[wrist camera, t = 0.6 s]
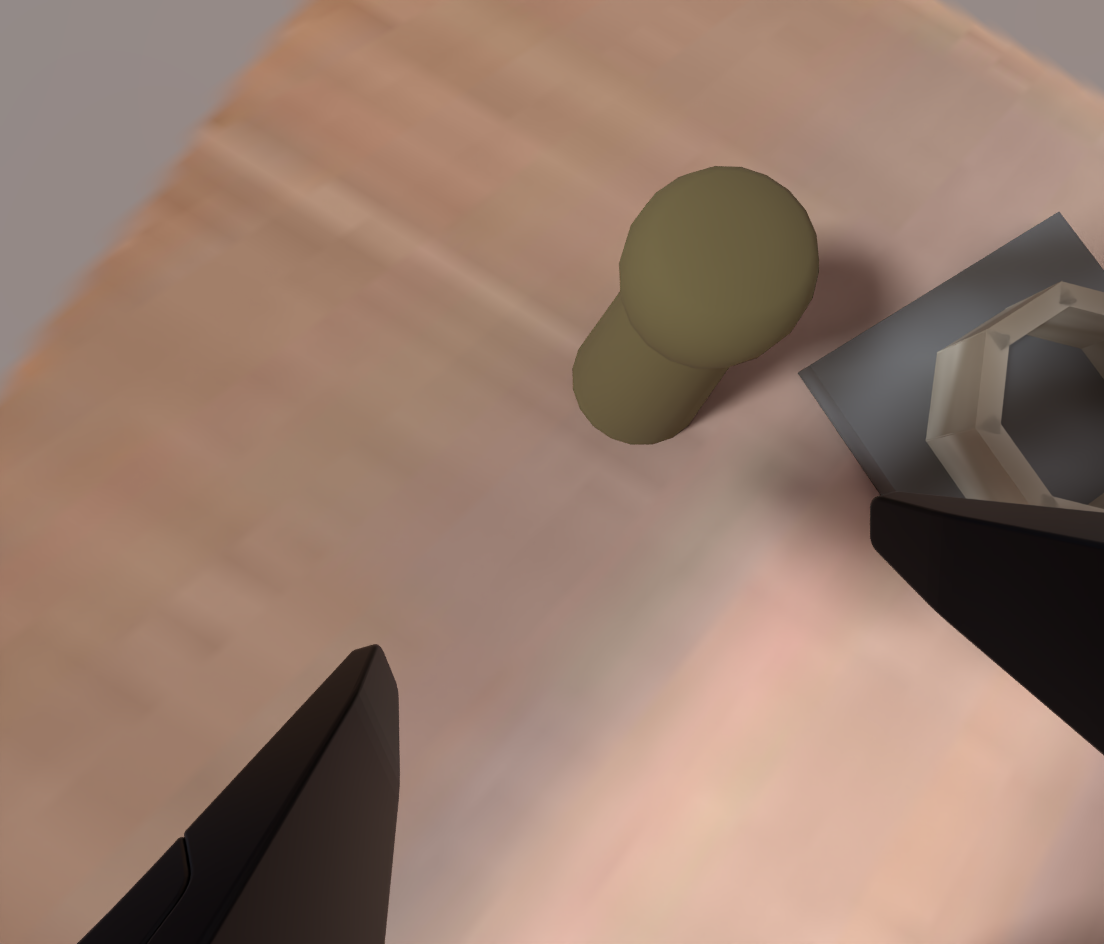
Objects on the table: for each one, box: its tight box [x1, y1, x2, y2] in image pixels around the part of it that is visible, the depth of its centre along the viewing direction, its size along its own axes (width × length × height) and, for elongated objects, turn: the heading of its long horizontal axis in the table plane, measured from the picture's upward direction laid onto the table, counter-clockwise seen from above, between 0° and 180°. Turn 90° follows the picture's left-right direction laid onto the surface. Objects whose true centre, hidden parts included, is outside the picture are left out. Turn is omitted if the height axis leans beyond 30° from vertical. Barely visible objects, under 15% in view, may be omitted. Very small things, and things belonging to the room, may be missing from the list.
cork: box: [573, 166, 819, 444], centre depth 18 cm, size 6×6×11 cm
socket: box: [798, 212, 1104, 512], centre depth 22 cm, size 15×15×4 cm
